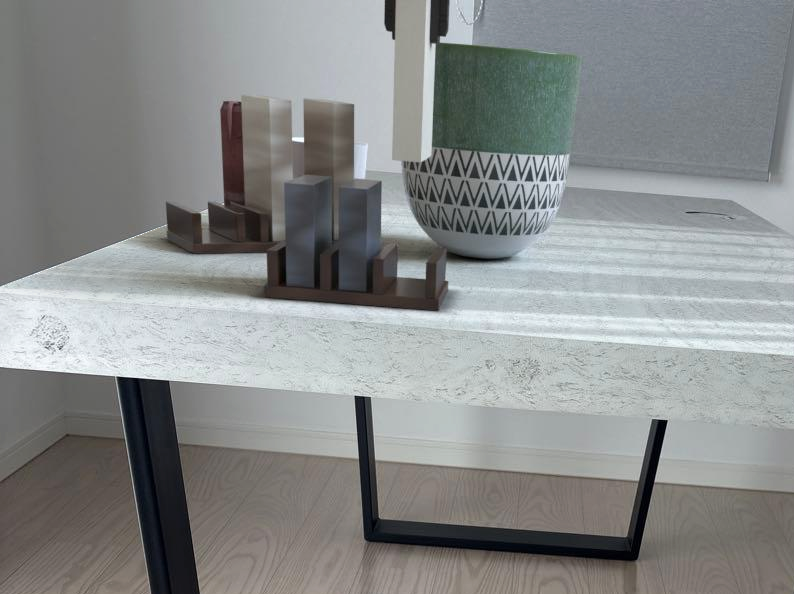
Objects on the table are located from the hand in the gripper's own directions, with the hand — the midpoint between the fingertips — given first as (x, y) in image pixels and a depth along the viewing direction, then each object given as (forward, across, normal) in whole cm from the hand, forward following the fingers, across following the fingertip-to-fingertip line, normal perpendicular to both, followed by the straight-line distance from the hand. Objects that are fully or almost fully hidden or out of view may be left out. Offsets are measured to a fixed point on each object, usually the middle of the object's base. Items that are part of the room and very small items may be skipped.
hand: (416, 40), depth 87 cm
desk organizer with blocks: (+21, -4, 0) cm, 22 cm away
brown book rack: (+21, -18, +23) cm, 36 cm away
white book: (+9, 0, 0) cm, 9 cm away
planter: (+21, +5, +27) cm, 35 cm away
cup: (+21, -16, +42) cm, 50 cm away
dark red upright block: (+21, -23, +34) cm, 46 cm away
